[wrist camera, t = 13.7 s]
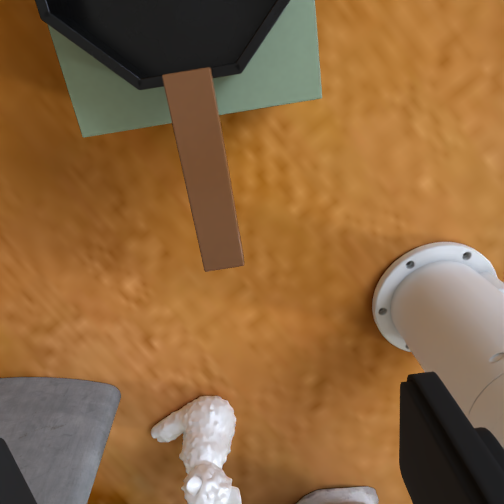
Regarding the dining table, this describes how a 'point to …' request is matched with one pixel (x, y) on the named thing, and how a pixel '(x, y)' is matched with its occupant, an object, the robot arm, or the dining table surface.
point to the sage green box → (226, 88)
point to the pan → (180, 84)
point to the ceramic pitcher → (341, 496)
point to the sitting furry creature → (203, 448)
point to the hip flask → (57, 433)
